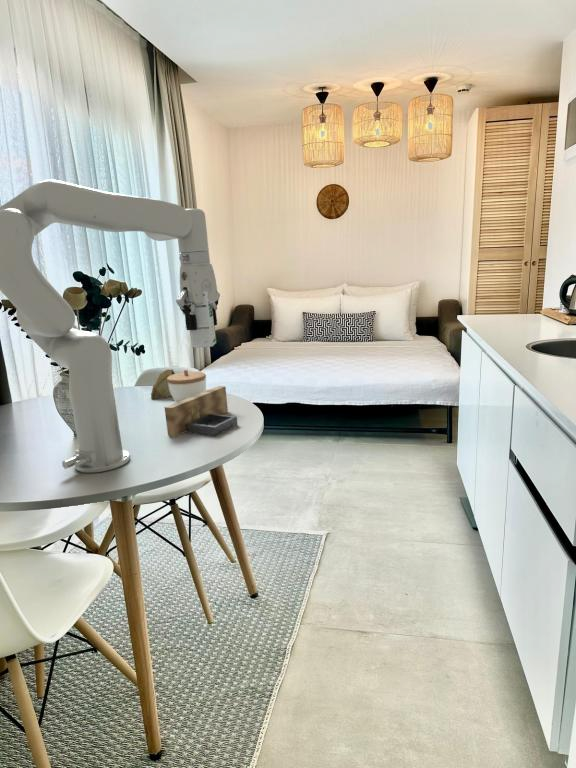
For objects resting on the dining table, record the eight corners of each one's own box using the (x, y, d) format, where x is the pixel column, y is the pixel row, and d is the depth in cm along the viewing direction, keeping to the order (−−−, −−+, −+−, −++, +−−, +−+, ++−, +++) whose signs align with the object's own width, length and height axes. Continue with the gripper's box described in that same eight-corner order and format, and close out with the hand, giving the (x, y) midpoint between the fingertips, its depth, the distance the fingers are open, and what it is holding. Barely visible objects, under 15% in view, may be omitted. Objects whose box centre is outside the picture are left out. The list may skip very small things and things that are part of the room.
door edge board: (175, 436, 141) (172, 408, 139) (168, 435, 142) (164, 407, 140) (228, 411, 161) (226, 386, 159) (221, 410, 162) (219, 385, 160)
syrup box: (213, 346, 137) (207, 290, 134) (191, 348, 137) (184, 292, 134) (216, 343, 143) (211, 289, 139) (195, 344, 143) (189, 290, 140)
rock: (144, 395, 179) (171, 390, 177) (145, 372, 183) (171, 367, 181) (158, 406, 189) (184, 401, 187) (158, 384, 192) (184, 380, 191)
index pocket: (215, 436, 139) (214, 427, 138) (186, 432, 144) (185, 423, 143) (237, 425, 147) (236, 416, 147) (209, 421, 152) (208, 413, 152)
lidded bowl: (200, 407, 168) (196, 374, 165) (163, 407, 170) (159, 374, 168) (213, 397, 180) (210, 365, 177) (179, 397, 182) (175, 366, 180)
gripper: (183, 260, 126) (191, 333, 130) (226, 257, 140) (233, 323, 144) (160, 261, 129) (169, 332, 134) (204, 259, 144) (211, 322, 148)
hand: (202, 327), depth 139 cm, fingers closed on syrup box, 7 cm apart
